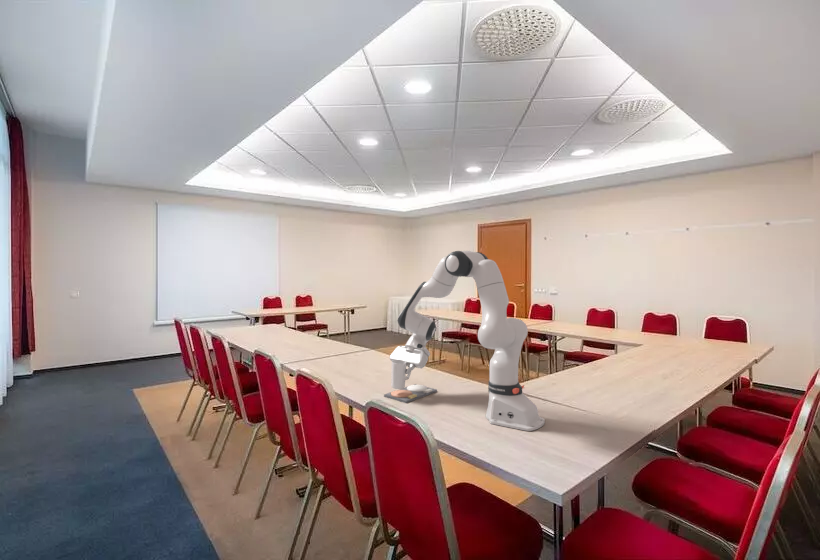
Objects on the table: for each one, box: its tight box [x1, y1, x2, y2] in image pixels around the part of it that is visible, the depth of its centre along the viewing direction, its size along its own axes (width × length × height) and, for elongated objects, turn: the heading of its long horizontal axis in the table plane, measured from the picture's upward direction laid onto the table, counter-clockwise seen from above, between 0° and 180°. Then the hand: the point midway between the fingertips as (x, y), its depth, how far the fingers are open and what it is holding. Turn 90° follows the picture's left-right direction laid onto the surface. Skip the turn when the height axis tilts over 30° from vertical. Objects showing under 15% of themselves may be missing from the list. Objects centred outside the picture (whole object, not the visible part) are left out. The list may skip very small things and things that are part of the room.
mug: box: [391, 360, 412, 390], centre depth 183 cm, size 10×7×12 cm, turn 119°
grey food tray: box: [383, 383, 438, 404], centre depth 187 cm, size 14×22×2 cm, turn 138°
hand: (400, 372), depth 183 cm, fingers closed on mug, 6 cm apart
